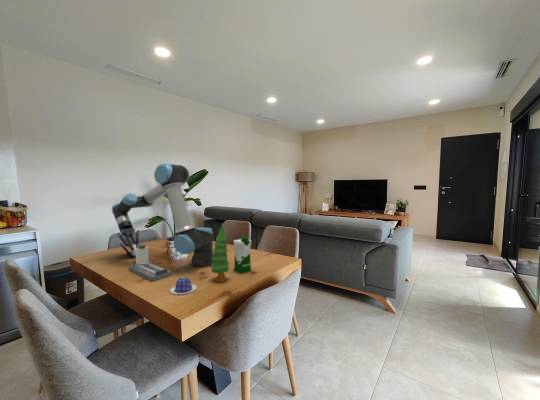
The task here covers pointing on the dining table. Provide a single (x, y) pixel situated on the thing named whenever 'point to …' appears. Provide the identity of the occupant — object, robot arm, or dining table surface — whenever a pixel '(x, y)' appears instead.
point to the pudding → (183, 286)
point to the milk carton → (242, 255)
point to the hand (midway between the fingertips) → (136, 254)
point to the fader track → (150, 271)
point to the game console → (129, 252)
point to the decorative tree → (220, 256)
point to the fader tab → (142, 255)
